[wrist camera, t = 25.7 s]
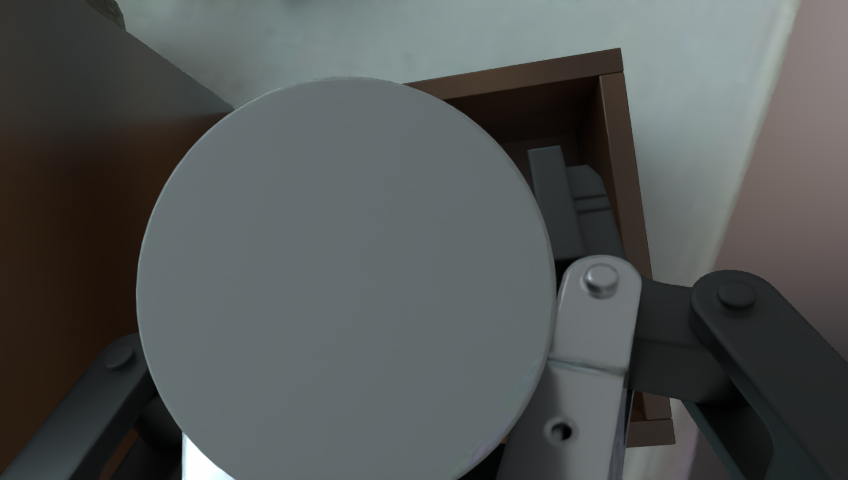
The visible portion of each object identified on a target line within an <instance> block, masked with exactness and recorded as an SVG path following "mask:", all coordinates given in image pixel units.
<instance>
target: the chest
mask: <svg viewBox="0 0 848 480" xmlns="http://www.w3.org/2000/svg"><path fill="white" fill-rule="evenodd" d="M623 71H624V69H623V62H622V54H621V49H620V48H615V49H609V50H603V51H597V52H591V53H585V54H579V55H573V56H567V57H561V58H555V59H549V60H543V61H537V62H531V63H525V64H519V65H513V66H507V67H501V68H495V69H489V70H483V71H477V72H471V73H465V74H459V75H453V76H447V77H441V78H434V79H428V80H422V81H416V82H410V83H404V84H402V85H406V86H409V87H412V88H414V89H417V90H420V91H423V92H425V93H427V94H430V95H432V96H434V97H436V98H438V99H440V100H442V101H444V102H446V103H447V104H449V105H451V106H453V107H454V108H456V109H457V110H459V111H460V112H462V113H464V114H465V115H466V116H468V117H469V118H470V119H471V120H473V121H474V122H475V123H477V124H478V125H479V126H480V127H481V128H482V129H484V130H485V131H486V132H487V133H488V134H489V135H490V136H491V137H492V138H493V139H494V140H495V141H496V142H497V143H498V144H499V145H500V146H501V147H502V149H503V150H504V151H505V152H506V154H507V155H508V156H509V157H510V158H511V160H512V161H513V162H514V164H515V165H516V167H517V168H518V170H519V171H520V172H521V174H522V176H523V177H524V179H525V181H526V182H527V184H528V186H529V188H530V190H531V186H530V176H529V166H528V155H527V150H532V149H539V148H546V147H552V146H559V145H560V146H561V150H562V154H563V158H564V162H565V166H566V167H573V166H581V165H588V166H590V167H591V168H592V169H593V170H594V171H595V172H596V173H597V174H598V175H599V176H601V177H602V180H603V183H604V187H605V190H606V193H607V197H608V199H609V203H610V206H611V210H612V212H613V215H614V218H615V222H616V225H617V228H618V231H619V234H620V238H621V241H622V244H623V247H624V250H625V254H626V257H627V259H628V261H629V263H630V264H632V265H633V266H634V267H635V268H636V269H637V271H638V272H639V273H640V274H641V275H643V276H645V277H647V278H649V279H651V280H653V278H652V271H651V264H650V256H649V249H648V242H647V235H646V228H645V220H644V213H643V206H642V199H641V192H640V185H639V177H638V170H637V163H636V156H635V149H634V142H633V134H632V127H631V120H630V113H629V106H628V98H627V91H626V84H625V77H624V73H623ZM671 417H672V414H671V407H670V400H669V397H664V396H659V395H654V394H650V393H645V392H640V391H635V390H634V396H633V402H632V409H631V416H630V423H629V429H628V436H627V443H626V448H630V447H644V446H658V445H672V444H675V443H676V442H675V435H674V428H673V421H672V419H671ZM508 435H509V433H508V434H507V435H506V437H505V438H504V439H503V440H502V441H501V442H500V444H503V443H506V442H507V439H508Z"/></svg>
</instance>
